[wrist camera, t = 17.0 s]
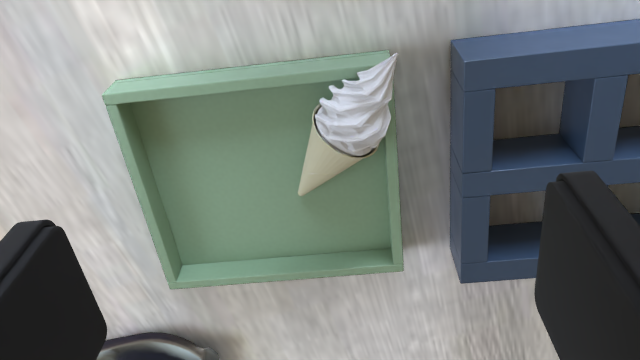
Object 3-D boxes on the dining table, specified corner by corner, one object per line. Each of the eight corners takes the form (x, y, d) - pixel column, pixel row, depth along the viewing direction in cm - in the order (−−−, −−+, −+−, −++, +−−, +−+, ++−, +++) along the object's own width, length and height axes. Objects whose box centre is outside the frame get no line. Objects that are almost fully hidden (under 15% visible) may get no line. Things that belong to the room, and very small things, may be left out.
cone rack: (450, 39, 37) (464, 61, 33) (728, 8, 35) (777, 27, 31) (449, 247, 46) (460, 283, 42) (670, 230, 44) (702, 265, 41)
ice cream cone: (261, 169, 42) (347, 19, 31) (316, 165, 44) (412, 25, 34) (283, 225, 40) (384, 84, 29) (339, 217, 42) (450, 85, 32)
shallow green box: (115, 80, 39) (101, 94, 36) (388, 49, 37) (392, 63, 35) (178, 268, 48) (169, 289, 45) (400, 250, 46) (403, 271, 44)
